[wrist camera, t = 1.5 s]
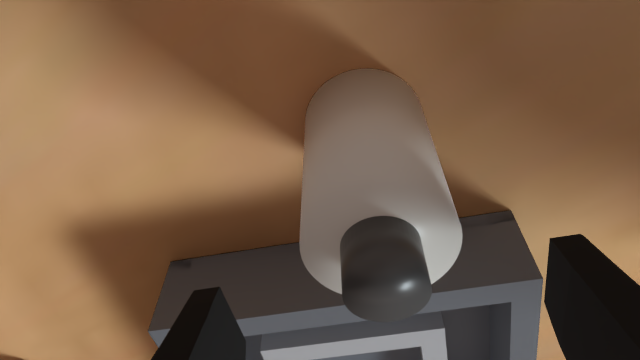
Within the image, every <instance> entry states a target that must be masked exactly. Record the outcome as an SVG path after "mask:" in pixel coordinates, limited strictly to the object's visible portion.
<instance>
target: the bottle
mask: <svg viewBox="0 0 640 360" xmlns="http://www.w3.org/2000/svg"><path fill="white" fill-rule="evenodd" d="M462 235H463V234H462V227H461V224H460V221H459V218H458V215H457V212H456V209H455V206H454V203H453V200H452V197H451V194H450V191H449V188H448V185H447V182H446V179H445V176H444V173H443V170H442V167H441V164H440V161H439V158H438V155H437V152H436V149H435V146H434V143H433V140H432V137H431V134H430V131H429V128H428V125H427V122H426V119H425V116H424V113H423V110H422V107H421V104H420V101H419V99H418V97H417V95H416V93H415V92H414V90H413V89H412V88H411V87H410V86H409V85H408V84H407V83H406V82H405V81H404V80H403V79H401V78H400V77H398V76H396V75H394V74H392V73H389V72H387V71H383V70H379V69H371V68H368V69H355V70H351V71H347V72H344V73H341V74H339V75H337V76H335V77H333V78H331V79H330V80H328V81H327V82H326V83H324V84H323V85H322V86H321V87H320V88H319V89H318V90H317V92H316V93H315V94H314V96H313V97H312V99H311V101H310V103H309V105H308V108H307V112H306V118H305V135H304V157H303V178H302V199H301V220H300V241H299V245H300V254H301V258H302V261H303V263H304V265H305V267H306V268H307V270H308V272H309V273H310V274H311V275H312V276H313V277H314V278H315V279H316V280H317V281H318V282H319V283H321V284H322V285H324V286H325V287H327V288H329V289H330V290H332V291H334V292H337V293H340V294H342V299H343V302H344V304H345V306H346V307H347V309H348V310H349V311H350V312H352V313H353V314H354V315H356V316H358V317H360V318H363V319H365V320H369V321H374V322H393V321H398V320H402V319H405V318H408V317H410V316H412V315H414V314H416V313H418V312H419V311H420V310H422V309H423V308H424V307H425V306H426V304H427V303H428V302H429V300H430V298H431V294H432V286H431V284H433V283H434V282H436V281H437V280H438V279H440V278H441V277H442V276H443V275H444V274H445V273H446V272H447V271H448V270H449V269H450V268H451V267H452V265H453V264H454V262H455V261H456V259H457V257H458V255H459V252H460V250H461V245H462Z"/></svg>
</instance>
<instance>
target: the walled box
mask: <svg viewBox="0 0 640 360" xmlns="http://www.w3.org/2000/svg"><path fill="white" fill-rule="evenodd" d="M459 221H460V224H461V227H462V234H463V235H462V245H461V250H460V252H459V255H458V257H457V259H456V261H455V262H454V264H453V265H452V267H451V268H450V269H449V270H448V271H447V272H446V273H445V274H444V275H443V276H442V277H441V278H440V279H438V280H437V281H436V282H434V283H433V284H431V286H432V294H431V298H430V300H429V302H428V303H427V304H426V306H425V307H424V308H423V309H422V310H420V311H419V312H418V313H416V314H414V315H412V316H410V317H408V318H405V319H402V320H398V321H393V322H374V321H369V320H365V319H363V318H360V317H358V316H356V315H354V314H353V313H352V312H350V311H349V310H348V309H347V307H346V306H345V304H344V302H343V299H342V294H340V293H337V292H334V291H332V290H330V289H329V288H327V287H325V286H324V285H322V284H321V283H319V282H318V281H317V280H316V279H315V278H314V277H313V276H312V275H311V274H310V273H309V272H308V270H307V268H306V267H305V265H304V263H303V261H302V258H301V254H300V245H299V243H292V244H286V245H279V246H272V247H266V248H259V249H252V250H246V251H239V252H233V253H226V254H219V255H213V256H206V257H200V258H193V259H186V260H180V261H173V262H170V265H169V269H168V272H167V275H166V278H165V281H164V284H163V287H162V290H161V293H160V296H159V299H158V302H157V305H156V308H155V311H154V314H153V317H152V320H151V324H150V327H149V330H148V333H149V334H150V336H151V337H152V339H153V340H154V342H155V343H156V345H157V346H158V348H159V346H160V345H161V343H162V341H163V340H164V338H165V337H166V335H167V333H168V332H169V330H170V328H171V327H172V325H173V323H174V322H175V320H176V318H177V317H178V315H179V314H180V312H181V310H182V309H183V307H184V305H185V304H186V302H187V300H188V299H189V297H190V295H191V294H192V293H193V291H194V290H200V289H206V288H213V287H220V288H221V290H222V292H223V294H224V296H225V299H226V301H227V303H228V305H229V307H230V309H231V311H232V313H233V315H234V317H235V319H236V321H237V323H238V325H239V327H240V329H241V331H242V333H243V336H244V338H245V340H246V360H536V357H537V345H538V333H539V321H540V309H541V297H542V285H543V277H542V275H541V273H540V271H539V269H538V267H537V265H536V263H535V260H534V258H533V256H532V254H531V252H530V250H529V248H528V245H527V243H526V241H525V239H524V237H523V235H522V233H521V231H520V228H519V226H518V224H517V222H516V220H515V218H514V216H513V213H512V211H511V210H510V211H503V212H497V213H490V214H484V215H477V216H470V217H464V218H459Z"/></svg>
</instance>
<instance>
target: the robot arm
mask: <svg viewBox="0 0 640 360" xmlns="http://www.w3.org/2000/svg"><path fill="white" fill-rule="evenodd" d="M544 302H545V305H546V308H547V311H548V314H549V317H550V320H551V323H552V326H553V328H554V331H555V334H556V337H557V339H558V342H559V345H560V347H561V349H562V352H563V354H564V356H565V358H566V360H640V286H639V285H638V284H637V283H636V282H635V281H634V280H633V279H631V278H630V277H629V276H628V275H627V274H626V273H624V272H623V271H622V270H621V269H620V268H619V267H618V266H617V265H615V264H614V263H613V262H612V261H611V260H610V259H609V258H608V257H606V256H605V255H604V254H603V253H602V252H601V251H600V250H599V249H598V248H597V247H595V246H594V245H593V244H592V243H591V242H590V241H589V240H588V239H587V238H586V237H584V236H583V235H581V234H576V235H570V236H563V237H556V238H550V243H549V254H548V266H547V277H546V288H545V299H544ZM151 360H246V340H245V338H244V336H243V333H242V331H241V329H240V327H239V325H238V323H237V321H236V319H235V317H234V315H233V313H232V311H231V309H230V307H229V305H228V303H227V301H226V299H225V296H224V294H223V292H222V290H221V288H220V287H213V288H206V289H200V290H194V291H193V293H192V294H191V295H190V297H189V299H188V300H187V302H186V304H185V305H184V307H183V309H182V310H181V312H180V314H179V315H178V317H177V318H176V320H175V322H174V323H173V325H172V327H171V328H170V330H169V332H168V333H167V335H166V337H165V338H164V340H163V341H162V343H161V345H160V346H159V348H158V350H157V351H156V353H155V354H154V356H153V357H152V359H151Z"/></svg>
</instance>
